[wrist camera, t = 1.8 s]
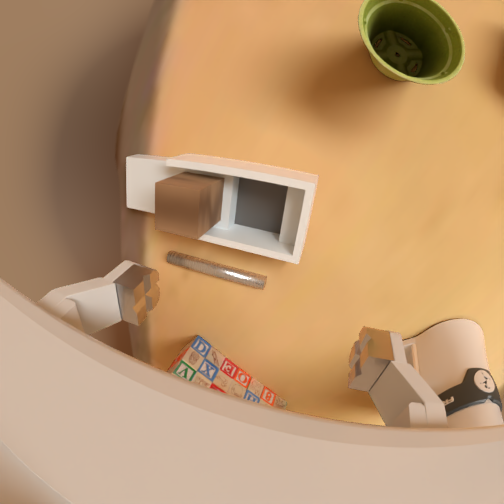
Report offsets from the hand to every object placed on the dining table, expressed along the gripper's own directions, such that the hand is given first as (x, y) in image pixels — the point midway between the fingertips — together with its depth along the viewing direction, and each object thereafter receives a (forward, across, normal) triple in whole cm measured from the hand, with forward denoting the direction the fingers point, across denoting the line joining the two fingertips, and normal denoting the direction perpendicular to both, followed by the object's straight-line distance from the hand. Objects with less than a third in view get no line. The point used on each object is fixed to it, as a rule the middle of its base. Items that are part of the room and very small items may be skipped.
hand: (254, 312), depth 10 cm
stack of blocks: (+23, +4, +36) cm, 43 cm away
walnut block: (+21, +11, +4) cm, 24 cm away
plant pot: (+23, -7, -17) cm, 30 cm away
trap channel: (+23, +10, +4) cm, 26 cm away
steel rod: (+22, +9, +13) cm, 27 cm away
